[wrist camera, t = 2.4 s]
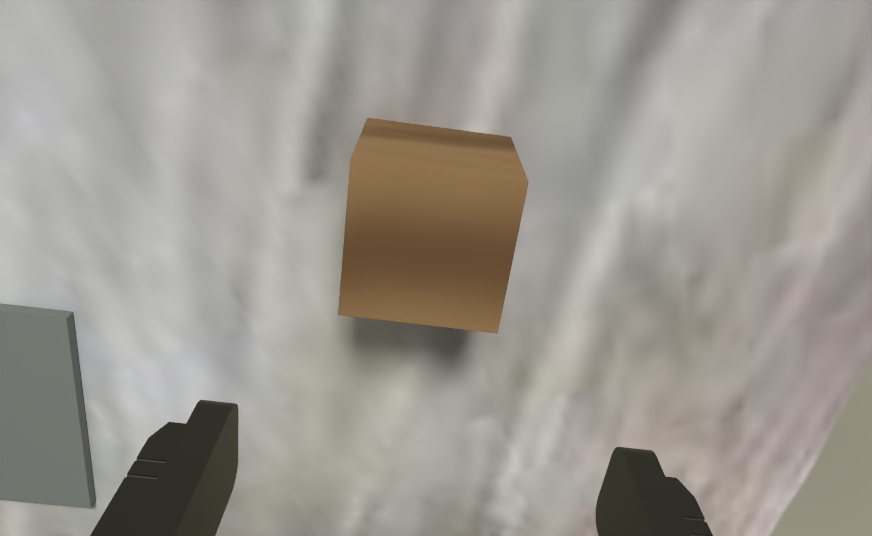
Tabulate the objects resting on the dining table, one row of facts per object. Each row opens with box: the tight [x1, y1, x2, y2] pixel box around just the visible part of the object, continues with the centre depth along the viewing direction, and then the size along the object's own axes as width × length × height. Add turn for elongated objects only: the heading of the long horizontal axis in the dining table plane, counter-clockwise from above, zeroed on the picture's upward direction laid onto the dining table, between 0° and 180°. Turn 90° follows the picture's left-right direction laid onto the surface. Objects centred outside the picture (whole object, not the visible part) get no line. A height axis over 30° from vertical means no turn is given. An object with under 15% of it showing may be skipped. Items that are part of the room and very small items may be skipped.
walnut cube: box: [338, 118, 528, 333], centre depth 26 cm, size 6×6×6 cm
